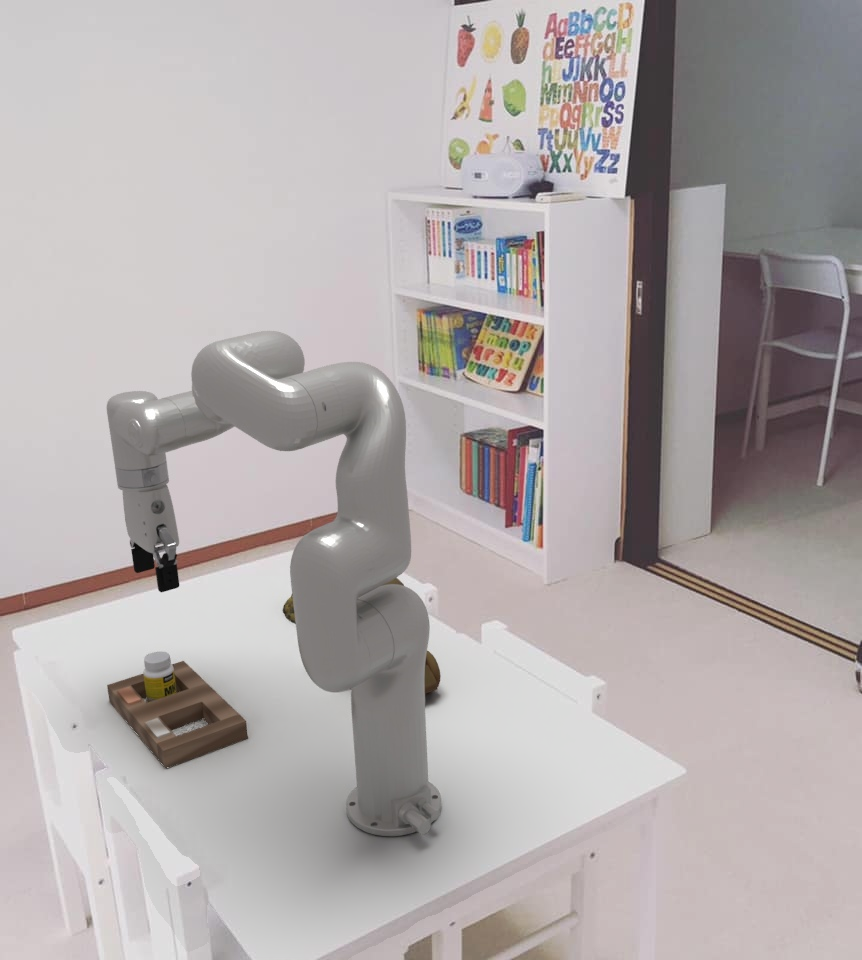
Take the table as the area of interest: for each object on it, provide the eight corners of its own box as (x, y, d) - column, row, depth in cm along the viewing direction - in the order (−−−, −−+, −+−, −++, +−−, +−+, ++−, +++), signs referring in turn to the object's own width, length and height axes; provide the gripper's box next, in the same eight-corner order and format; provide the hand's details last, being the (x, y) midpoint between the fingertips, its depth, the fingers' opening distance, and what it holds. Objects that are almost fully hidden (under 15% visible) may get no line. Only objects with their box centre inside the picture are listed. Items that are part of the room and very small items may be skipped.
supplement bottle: (170, 713, 170) (164, 665, 167) (142, 710, 171) (135, 663, 168) (182, 697, 174) (177, 650, 172) (155, 695, 175) (149, 649, 173)
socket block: (248, 738, 162) (246, 718, 161) (165, 768, 155) (162, 748, 154) (185, 676, 181) (183, 658, 180) (109, 701, 174) (106, 682, 173)
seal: (349, 626, 200) (314, 598, 212) (350, 602, 198) (315, 575, 210) (303, 635, 195) (270, 605, 207) (304, 610, 193) (270, 582, 206)
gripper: (189, 482, 157) (202, 590, 162) (144, 457, 171) (158, 557, 176) (139, 494, 153) (155, 604, 158) (98, 467, 167) (113, 569, 172)
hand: (156, 579), depth 167 cm, fingers open, 9 cm apart
